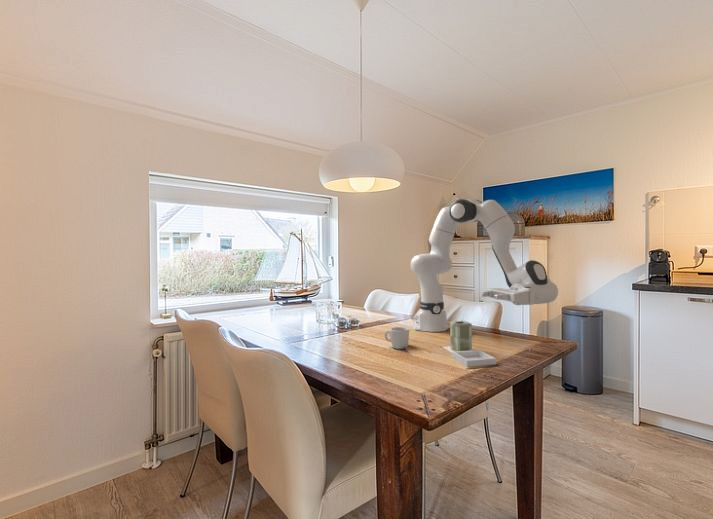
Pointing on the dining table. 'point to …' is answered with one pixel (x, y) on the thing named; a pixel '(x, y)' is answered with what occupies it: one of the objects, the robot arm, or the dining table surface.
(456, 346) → the sleeve
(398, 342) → the cup
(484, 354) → the tray
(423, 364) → the dining table surface
